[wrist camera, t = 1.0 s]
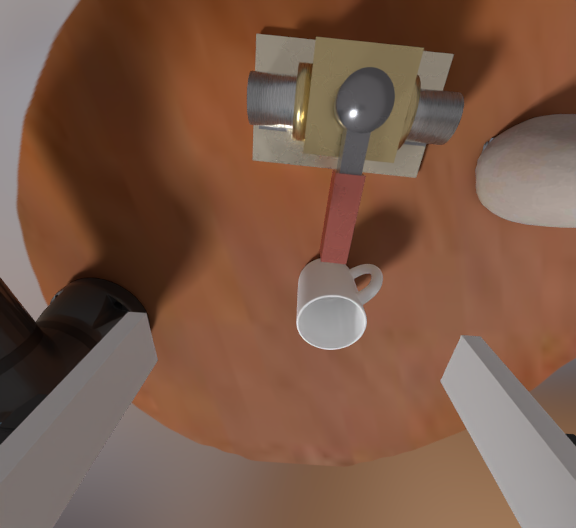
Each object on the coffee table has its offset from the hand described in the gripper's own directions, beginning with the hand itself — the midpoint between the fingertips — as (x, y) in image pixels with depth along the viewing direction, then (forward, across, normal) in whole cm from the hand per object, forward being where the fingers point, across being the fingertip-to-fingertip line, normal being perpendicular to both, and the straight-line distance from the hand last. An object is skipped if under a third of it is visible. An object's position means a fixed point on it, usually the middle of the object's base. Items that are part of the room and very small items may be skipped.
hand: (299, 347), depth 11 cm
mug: (+27, +6, -11) cm, 29 cm away
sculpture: (+26, +27, +5) cm, 38 cm away
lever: (+16, +4, +5) cm, 17 cm away
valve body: (+26, +4, +10) cm, 29 cm away
